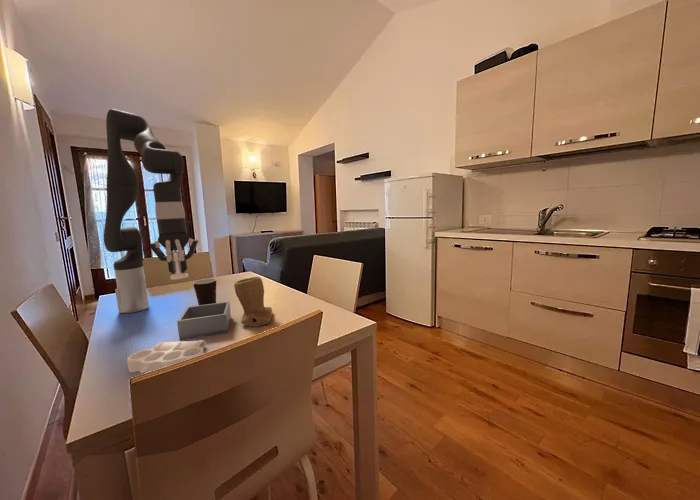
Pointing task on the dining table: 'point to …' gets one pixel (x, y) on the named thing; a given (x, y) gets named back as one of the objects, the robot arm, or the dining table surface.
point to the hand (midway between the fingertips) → (178, 272)
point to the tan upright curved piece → (252, 301)
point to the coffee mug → (205, 291)
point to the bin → (204, 320)
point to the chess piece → (178, 267)
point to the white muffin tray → (164, 355)
